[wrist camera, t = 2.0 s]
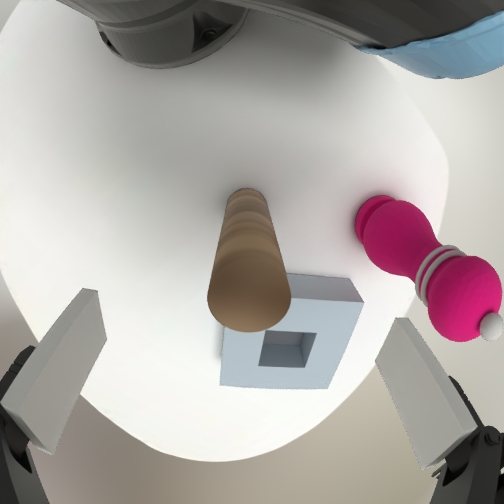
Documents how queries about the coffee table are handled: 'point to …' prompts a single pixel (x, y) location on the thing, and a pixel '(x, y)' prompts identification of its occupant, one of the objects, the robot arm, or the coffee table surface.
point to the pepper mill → (432, 269)
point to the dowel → (248, 268)
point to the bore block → (296, 339)
